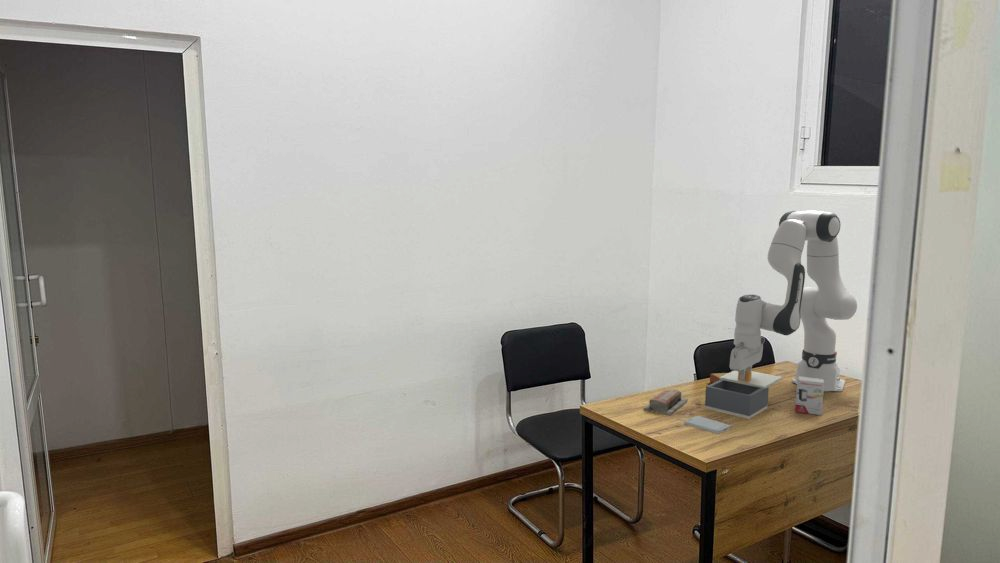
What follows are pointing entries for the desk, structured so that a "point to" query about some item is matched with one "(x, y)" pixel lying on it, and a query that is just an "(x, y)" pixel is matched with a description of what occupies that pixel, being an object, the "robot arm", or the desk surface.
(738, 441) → the desk surface
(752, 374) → the lid flap
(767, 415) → the desk surface
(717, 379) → the carton
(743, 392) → the charcoal box
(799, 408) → the ink box
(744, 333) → the robot arm
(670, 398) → the packaged product
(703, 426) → the hard drive
